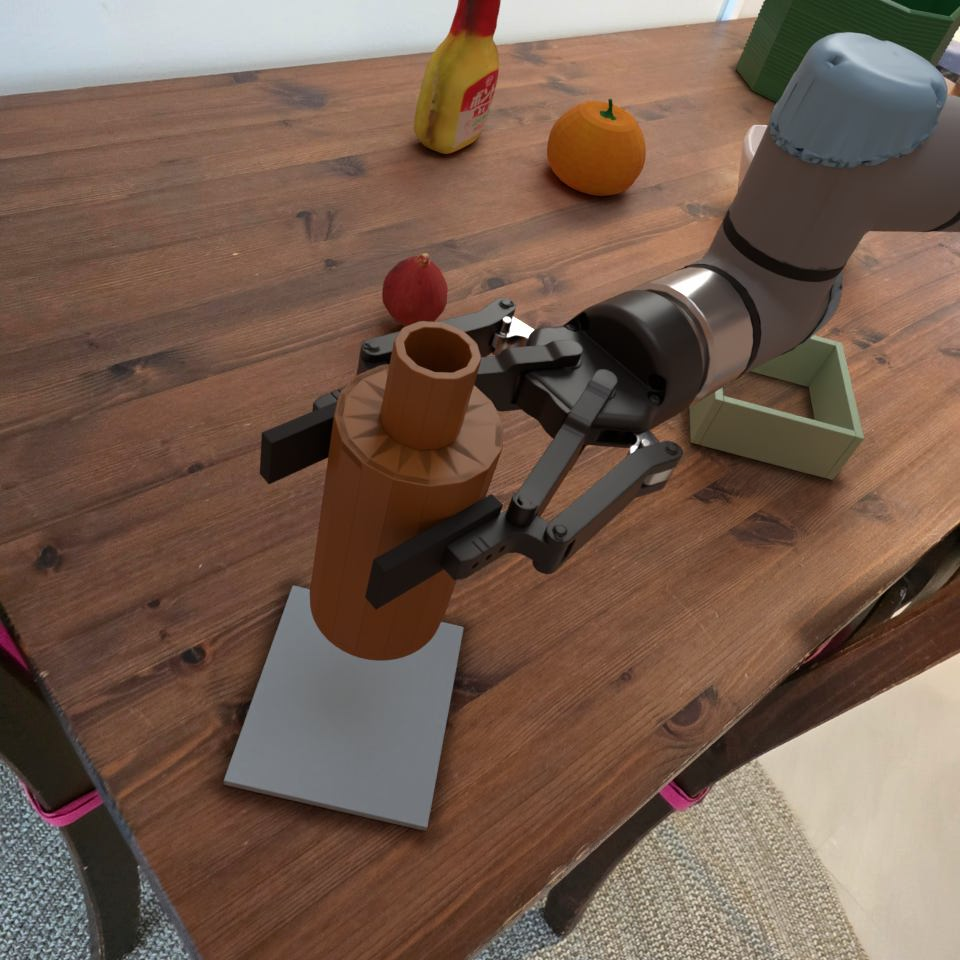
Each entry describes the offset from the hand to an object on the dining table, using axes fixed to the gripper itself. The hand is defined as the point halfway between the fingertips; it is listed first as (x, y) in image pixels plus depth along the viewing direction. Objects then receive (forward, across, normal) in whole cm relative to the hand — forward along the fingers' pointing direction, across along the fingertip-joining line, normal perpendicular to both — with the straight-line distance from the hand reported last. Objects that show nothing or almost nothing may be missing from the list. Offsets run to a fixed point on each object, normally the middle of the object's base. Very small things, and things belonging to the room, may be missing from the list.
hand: (318, 519), depth 37 cm
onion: (-31, +28, -22) cm, 47 cm away
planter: (-131, +43, -22) cm, 139 cm away
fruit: (-69, +39, -22) cm, 82 cm away
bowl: (-85, +20, -22) cm, 90 cm away
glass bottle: (-5, 0, -10) cm, 12 cm away
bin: (-54, +2, -22) cm, 58 cm away
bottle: (-58, +52, -22) cm, 81 cm away
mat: (-5, 0, -22) cm, 22 cm away
